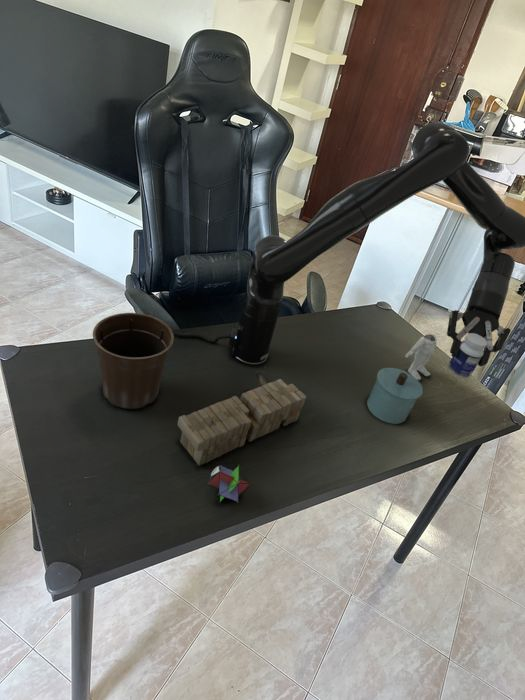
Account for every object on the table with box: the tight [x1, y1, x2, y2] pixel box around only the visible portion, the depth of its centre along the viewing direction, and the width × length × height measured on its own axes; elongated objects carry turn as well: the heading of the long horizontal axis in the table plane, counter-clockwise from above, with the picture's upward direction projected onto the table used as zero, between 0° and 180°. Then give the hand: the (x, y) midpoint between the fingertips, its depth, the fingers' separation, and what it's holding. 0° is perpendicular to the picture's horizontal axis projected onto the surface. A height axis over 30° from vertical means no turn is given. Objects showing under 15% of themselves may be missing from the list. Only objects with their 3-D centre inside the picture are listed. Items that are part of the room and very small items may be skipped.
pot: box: [366, 367, 424, 425], centre depth 121 cm, size 12×12×12 cm
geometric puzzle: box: [207, 464, 251, 503], centre depth 91 cm, size 7×7×8 cm
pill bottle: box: [447, 333, 487, 379], centre depth 114 cm, size 6×6×10 cm
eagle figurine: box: [255, 370, 271, 386], centre depth 116 cm, size 8×7×9 cm
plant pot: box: [92, 312, 175, 410], centre depth 105 cm, size 16×16×16 cm
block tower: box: [177, 378, 307, 466], centre depth 105 cm, size 8×8×29 cm
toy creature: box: [405, 334, 437, 381], centre depth 138 cm, size 12×6×12 cm, turn 126°
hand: (467, 360), depth 113 cm, fingers closed on pill bottle, 5 cm apart
